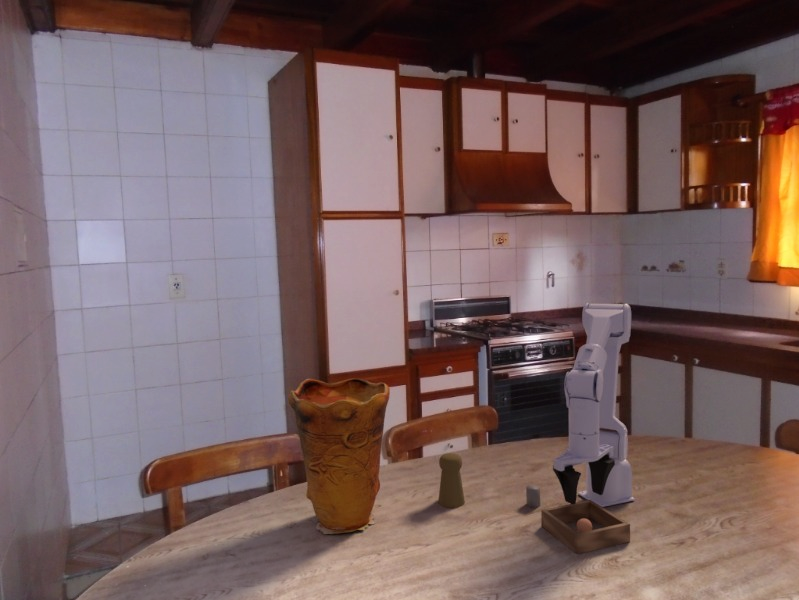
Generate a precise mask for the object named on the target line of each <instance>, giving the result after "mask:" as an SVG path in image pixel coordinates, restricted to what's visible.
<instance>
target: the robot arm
mask: <svg viewBox="0 0 799 600" xmlns="http://www.w3.org/2000/svg"><path fill="white" fill-rule="evenodd" d="M631 309H632V308H631V306H630V305H629V304H628V303H621V304H620V303H591V302H586V303H585V305H584V306H583V308H582V315H581V317H582V320H581V321H582V327H583V328H584V331H585V334H586V343H585V344H583V345H582V346H580V347H579V349H578V352H577V355H576V358H575V361H574V364H573V367H572V369H571V370H570V371H567V372H566V374H565V377H564V384H563V385H564V395H565V400H566V401H565V403H566V408H568V447H566V449H565V452H563V453H562V454H561V455H559V456H556V457H555V458H553V465H552V471H553V472H554V474H555V475H556V478H557V479H558V481H559V484H560V487H561V489H562V493H563V497H564V501H565V503H568V504H572V505H573V504H575V503H577V497H578V496H577V495H579V496H581V497H582V498H584V499H585V500H586V501H587V500H592V501H593V502H595V503H596V504H598V505H600V506H601V507H603V508H604V507H609V506H614V505H618V504H623V503H629V502H633V501H635V497H633V470H632V466H631V464H630V462H629V461H628V459H627V457H628V450H629V449H628V448H629V440H628V429H627V426H626V425H625V424H624V423H623V422H622V421H620V420H619V418H617V417H616V407H617V406H616V405H617V390H618V373H619V362H620V361H619V355H620V351H621V348H622V345H624V344H626V343H629V342H630V337H631V329H632V310H631ZM601 429H604V430H601ZM610 430H611V431H610ZM584 463H586V466H585V467H586V473H585V474H586V476H585V477H586V480H585V481H586V483H585V484H586V487H585V488H586V490H582V491H578V484H579V480H580V478H581V476H582V472H581V471H577V470H575V469H576V468H574V466H577V465H581V464H584Z"/></svg>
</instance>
